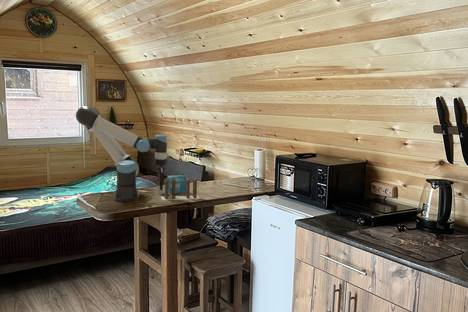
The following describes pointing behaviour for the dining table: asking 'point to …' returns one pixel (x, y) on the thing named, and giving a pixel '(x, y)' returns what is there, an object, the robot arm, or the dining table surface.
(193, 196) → the domino
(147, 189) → the dining table surface
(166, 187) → the domino
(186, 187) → the domino
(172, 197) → the domino
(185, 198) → the board
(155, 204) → the dining table surface
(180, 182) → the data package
